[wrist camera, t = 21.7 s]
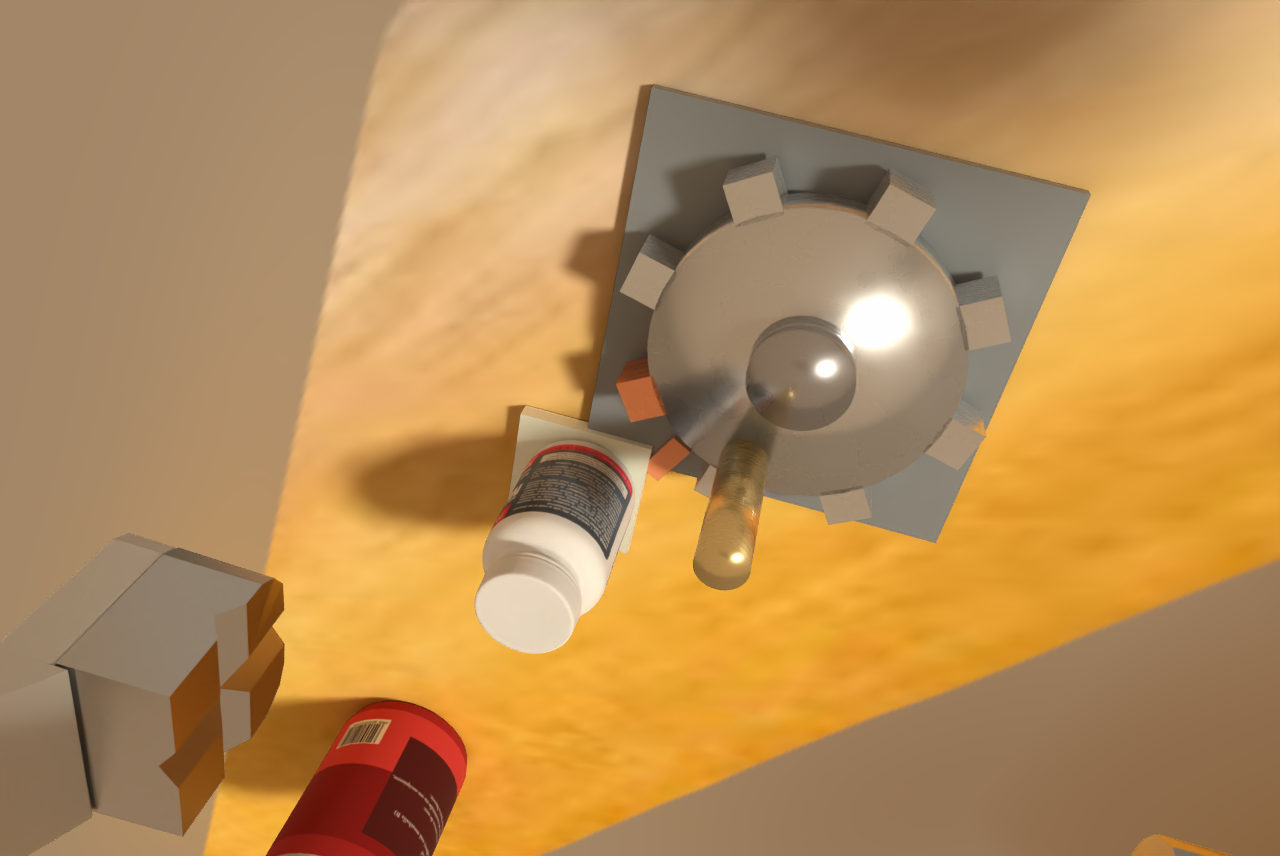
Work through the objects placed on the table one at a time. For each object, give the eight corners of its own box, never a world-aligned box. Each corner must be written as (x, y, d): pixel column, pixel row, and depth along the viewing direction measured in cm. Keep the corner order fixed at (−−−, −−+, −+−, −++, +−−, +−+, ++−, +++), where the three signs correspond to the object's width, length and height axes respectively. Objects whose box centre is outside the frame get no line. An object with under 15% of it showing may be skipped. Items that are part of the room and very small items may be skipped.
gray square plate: (1087, 190, 36) (1091, 196, 35) (930, 546, 45) (931, 556, 44) (654, 84, 37) (650, 88, 36) (584, 451, 46) (580, 459, 45)
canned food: (328, 749, 61) (229, 915, 51) (374, 674, 56) (275, 840, 47) (439, 810, 61) (361, 984, 52) (493, 740, 57) (418, 916, 48)
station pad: (655, 440, 45) (651, 449, 44) (630, 543, 48) (627, 553, 47) (526, 405, 45) (520, 413, 45) (510, 509, 48) (505, 519, 48)
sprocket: (962, 101, 34) (986, 179, 27) (1033, 462, 41) (1069, 608, 33) (570, 215, 39) (496, 309, 32) (688, 522, 45) (649, 661, 38)
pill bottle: (524, 428, 45) (453, 548, 37) (639, 445, 44) (590, 570, 37) (526, 524, 48) (460, 653, 40) (634, 541, 47) (588, 676, 39)
